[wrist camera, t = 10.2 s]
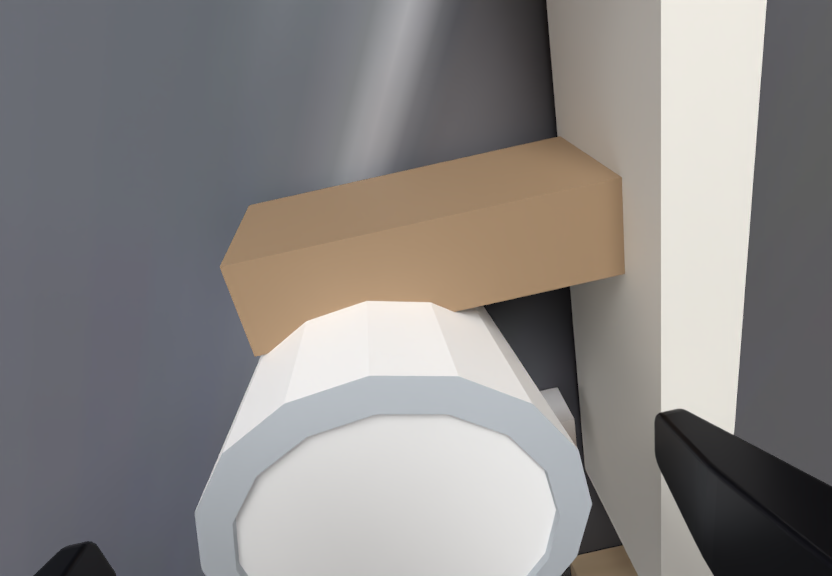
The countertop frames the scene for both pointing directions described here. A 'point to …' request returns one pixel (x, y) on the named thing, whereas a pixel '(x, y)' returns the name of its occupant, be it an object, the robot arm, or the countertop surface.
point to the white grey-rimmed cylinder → (393, 456)
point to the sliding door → (569, 237)
